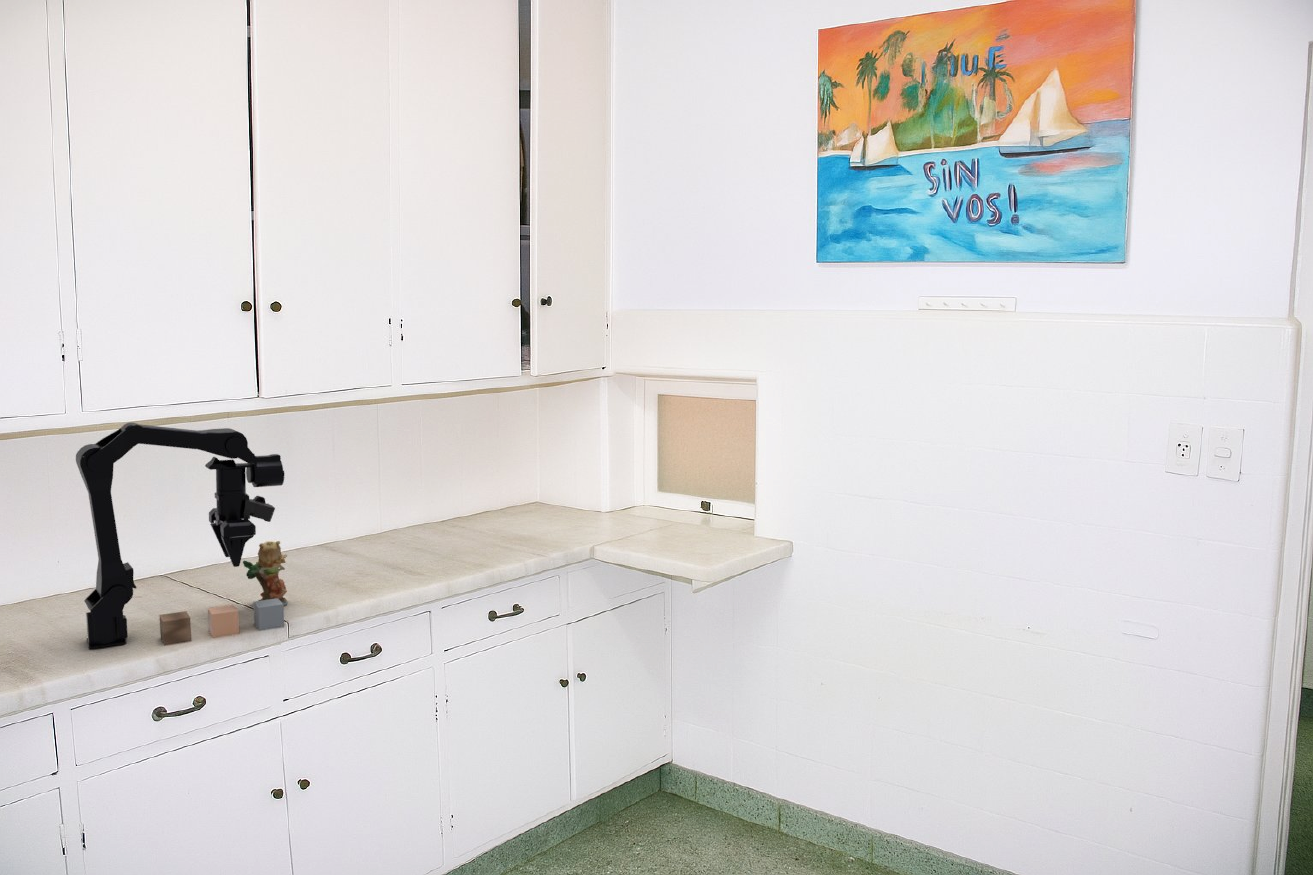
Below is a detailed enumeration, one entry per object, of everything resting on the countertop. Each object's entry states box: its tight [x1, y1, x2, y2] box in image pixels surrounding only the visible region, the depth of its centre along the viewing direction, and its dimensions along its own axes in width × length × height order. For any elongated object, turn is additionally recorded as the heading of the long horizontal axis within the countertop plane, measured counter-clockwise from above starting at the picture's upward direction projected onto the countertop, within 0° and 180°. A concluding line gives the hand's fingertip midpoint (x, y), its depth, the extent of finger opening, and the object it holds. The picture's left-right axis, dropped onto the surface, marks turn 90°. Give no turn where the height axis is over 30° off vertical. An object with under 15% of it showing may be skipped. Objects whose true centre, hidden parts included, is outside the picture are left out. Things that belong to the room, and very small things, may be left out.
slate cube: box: [252, 598, 285, 631], centre depth 215 cm, size 5×5×5 cm
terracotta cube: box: [206, 604, 240, 639], centre depth 210 cm, size 5×5×5 cm
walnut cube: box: [158, 610, 192, 646], centre depth 206 cm, size 5×5×5 cm
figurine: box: [242, 540, 288, 606], centre depth 229 cm, size 9×8×15 cm
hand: (232, 561), depth 216 cm, fingers open, 9 cm apart
